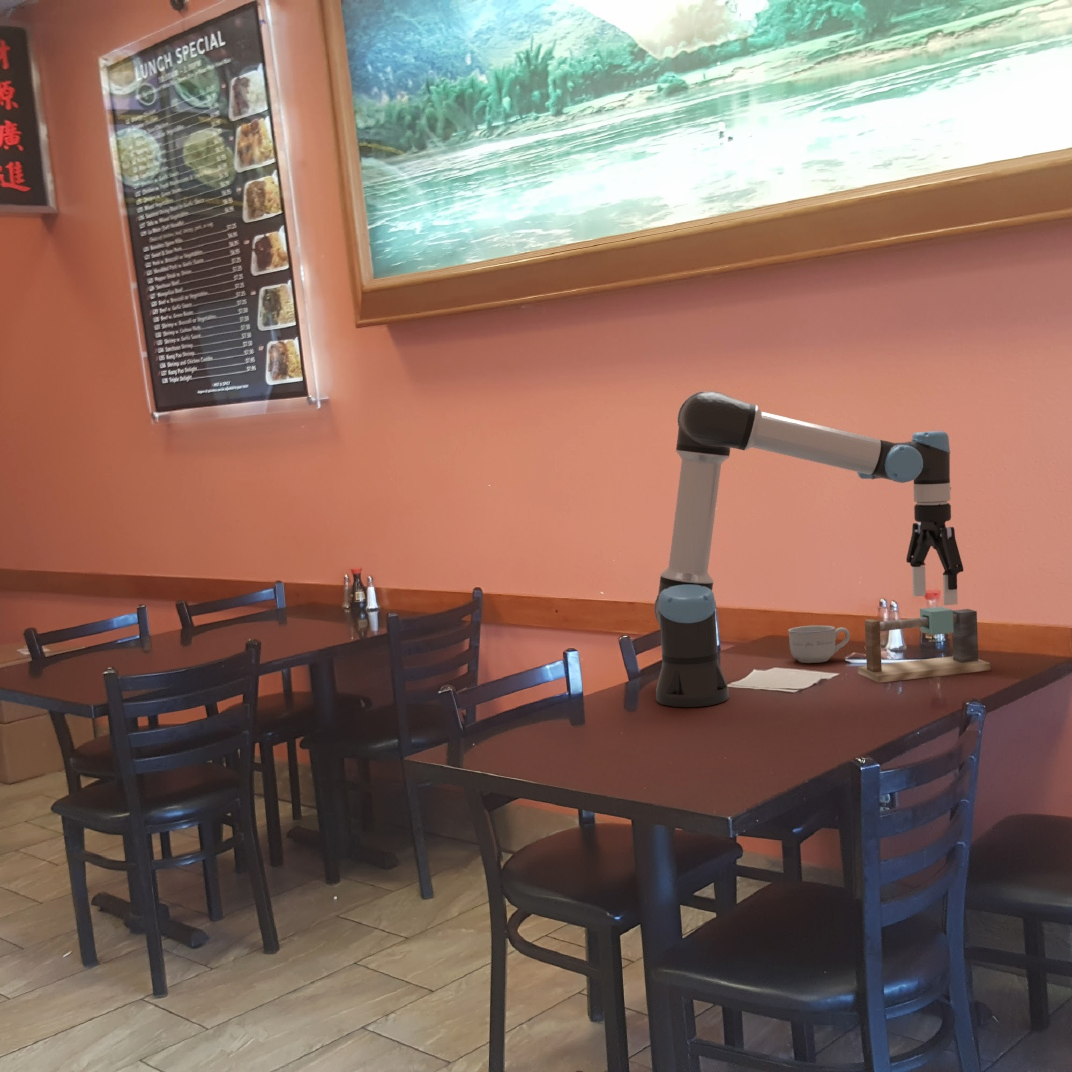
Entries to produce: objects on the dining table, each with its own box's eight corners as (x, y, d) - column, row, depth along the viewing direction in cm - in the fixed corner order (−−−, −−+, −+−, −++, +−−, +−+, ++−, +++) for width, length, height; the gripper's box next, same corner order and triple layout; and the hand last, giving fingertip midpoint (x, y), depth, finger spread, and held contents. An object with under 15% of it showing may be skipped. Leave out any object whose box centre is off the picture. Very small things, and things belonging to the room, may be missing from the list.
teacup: (787, 666, 277) (785, 632, 276) (791, 656, 287) (790, 623, 286) (849, 666, 273) (848, 631, 272) (851, 656, 283) (850, 622, 282)
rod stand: (878, 682, 255) (876, 624, 253) (858, 673, 264) (855, 617, 263) (990, 670, 259) (989, 613, 258) (966, 661, 269) (964, 606, 268)
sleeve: (932, 635, 259) (931, 612, 258) (920, 631, 263) (919, 608, 263) (953, 632, 259) (952, 609, 259) (941, 628, 264) (940, 606, 264)
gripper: (979, 505, 247) (981, 606, 249) (920, 498, 271) (922, 591, 274) (945, 507, 246) (948, 609, 248) (889, 500, 270) (891, 593, 272)
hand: (934, 600), depth 261 cm, fingers open, 13 cm apart
